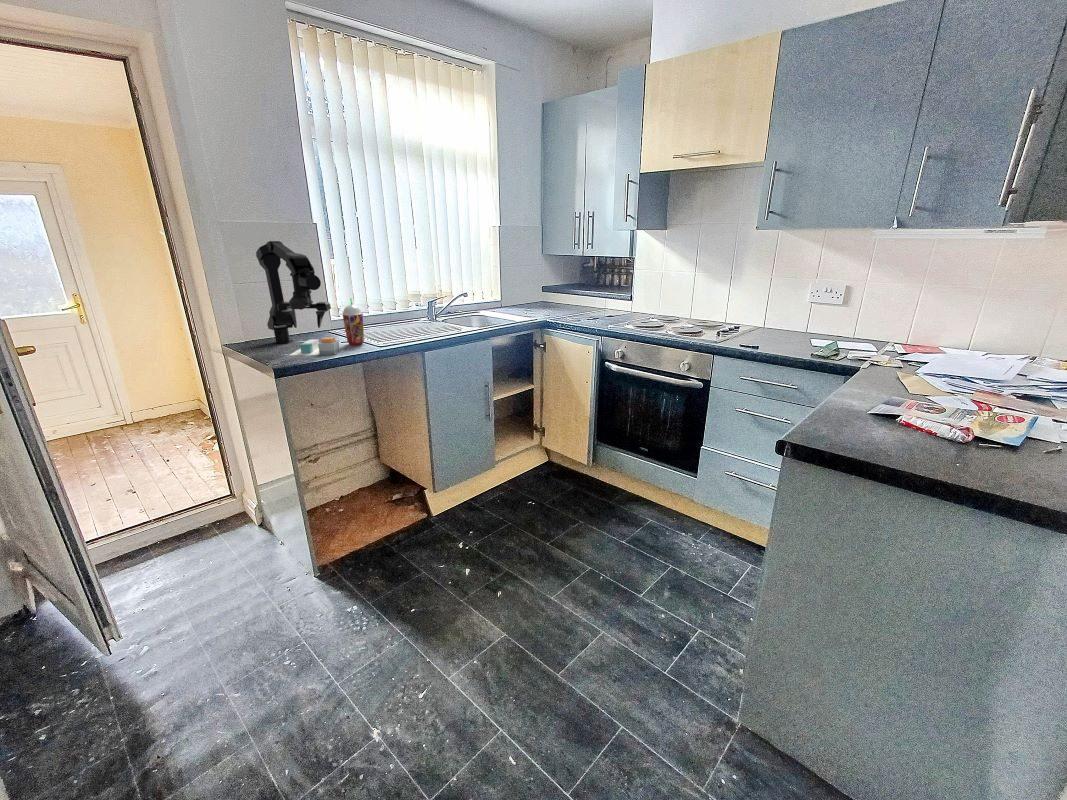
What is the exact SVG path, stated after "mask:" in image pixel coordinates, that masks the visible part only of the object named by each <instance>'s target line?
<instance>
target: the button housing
mask: <svg viewBox="0 0 1067 800" xmlns="http://www.w3.org/2000/svg"><path fill="white" fill-rule="evenodd" d="M318 347H319V355H321V356H322V355H325V356H326V355H329V356H330V355H334V356H335V355H336V354H338V353H339V352H340V349H341V348H340V342H339V340H336V339H335V342H334V343H321V341H320V342H319V343H318Z"/></svg>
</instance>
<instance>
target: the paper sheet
mask: <svg viewBox="0 0 1067 800" xmlns="http://www.w3.org/2000/svg"><path fill="white" fill-rule="evenodd" d="M318 355H320V354H319V349H317V350H315V351H314V352H312V353H301V348H299V349H297V350H295V351H294V352H292V353H290V354H289V356H318Z"/></svg>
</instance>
